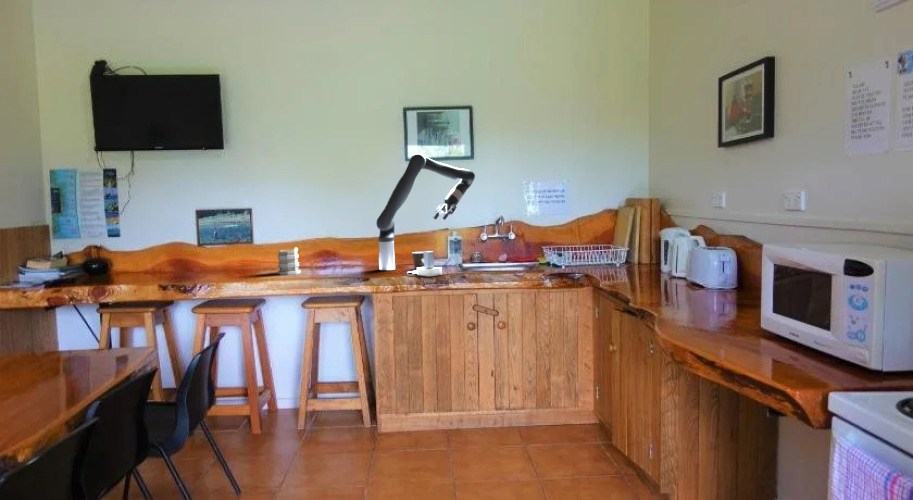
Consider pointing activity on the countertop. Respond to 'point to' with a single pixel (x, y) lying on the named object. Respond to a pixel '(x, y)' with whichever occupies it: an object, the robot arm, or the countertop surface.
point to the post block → (427, 271)
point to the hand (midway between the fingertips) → (438, 218)
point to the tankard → (288, 262)
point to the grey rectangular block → (429, 259)
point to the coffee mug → (418, 259)
